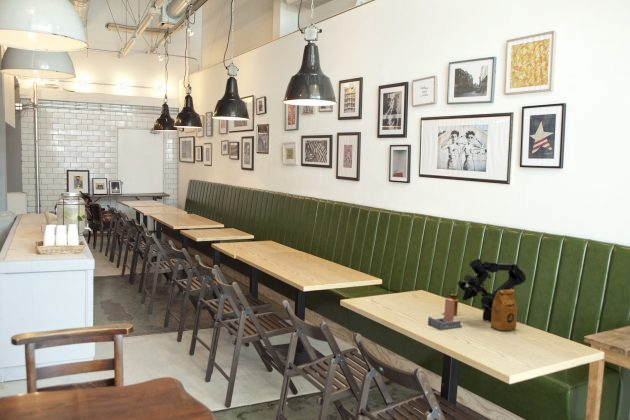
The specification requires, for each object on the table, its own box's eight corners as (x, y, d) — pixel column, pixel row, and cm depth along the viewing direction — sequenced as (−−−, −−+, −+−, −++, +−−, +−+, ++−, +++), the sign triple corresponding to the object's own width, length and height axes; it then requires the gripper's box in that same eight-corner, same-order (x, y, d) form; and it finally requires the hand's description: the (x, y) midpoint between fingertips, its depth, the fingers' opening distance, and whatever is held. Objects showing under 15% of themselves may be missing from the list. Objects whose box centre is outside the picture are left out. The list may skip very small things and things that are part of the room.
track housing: (448, 321, 299) (449, 314, 299) (461, 327, 290) (462, 319, 290) (427, 324, 292) (428, 317, 292) (440, 330, 283) (441, 322, 283)
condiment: (459, 314, 316) (461, 294, 315) (452, 317, 310) (453, 296, 309) (449, 311, 321) (450, 292, 320) (441, 314, 315) (442, 294, 314)
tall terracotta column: (447, 321, 295) (448, 298, 294) (454, 324, 290) (455, 300, 289) (442, 321, 294) (444, 298, 293) (449, 324, 289) (451, 300, 288)
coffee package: (518, 331, 289) (522, 291, 287) (500, 332, 284) (503, 292, 283) (506, 325, 298) (509, 287, 296) (487, 326, 294) (491, 287, 292)
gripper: (461, 266, 305) (445, 286, 301) (485, 273, 289) (469, 294, 284) (470, 279, 310) (454, 299, 305) (494, 286, 293) (478, 307, 289)
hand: (463, 299), depth 296 cm, fingers closed
